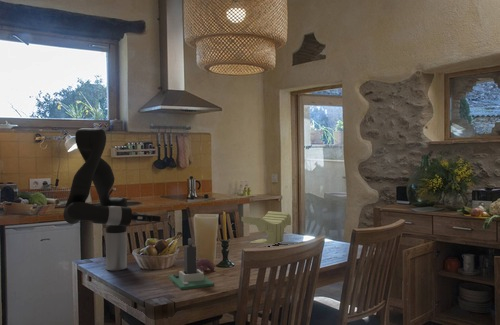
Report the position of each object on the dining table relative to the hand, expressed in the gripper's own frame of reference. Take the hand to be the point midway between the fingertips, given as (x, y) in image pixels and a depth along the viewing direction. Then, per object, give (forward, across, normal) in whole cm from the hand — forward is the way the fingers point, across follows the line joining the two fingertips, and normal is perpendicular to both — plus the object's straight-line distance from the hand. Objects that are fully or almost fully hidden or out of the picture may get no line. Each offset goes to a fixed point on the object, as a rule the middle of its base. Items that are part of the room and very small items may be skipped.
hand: (156, 218), depth 197 cm
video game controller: (+29, +8, +23) cm, 38 cm away
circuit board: (+17, -4, +25) cm, 30 cm away
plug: (+16, -4, +24) cm, 29 cm away
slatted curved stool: (+89, +45, +12) cm, 101 cm away
